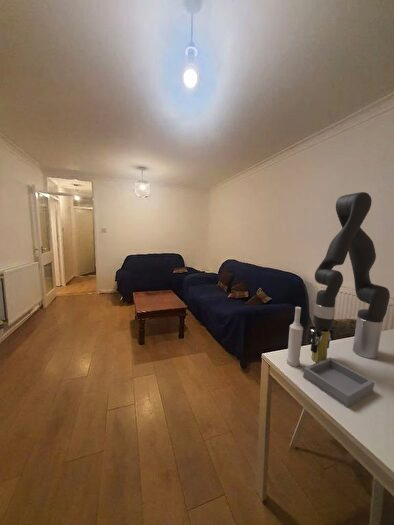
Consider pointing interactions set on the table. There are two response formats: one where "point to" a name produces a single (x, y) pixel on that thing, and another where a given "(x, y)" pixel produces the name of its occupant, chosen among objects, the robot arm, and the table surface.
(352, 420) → the table surface
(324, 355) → the vase
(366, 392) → the bin
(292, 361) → the bottle
